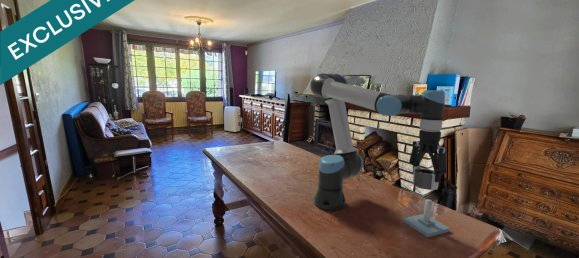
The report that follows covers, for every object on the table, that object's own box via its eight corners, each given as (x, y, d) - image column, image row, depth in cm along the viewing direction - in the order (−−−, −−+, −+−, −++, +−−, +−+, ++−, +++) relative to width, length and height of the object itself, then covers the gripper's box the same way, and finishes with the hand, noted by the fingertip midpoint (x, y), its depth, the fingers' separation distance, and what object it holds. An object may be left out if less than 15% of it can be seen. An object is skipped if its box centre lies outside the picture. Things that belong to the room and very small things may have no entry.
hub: (425, 190, 96) (427, 175, 95) (409, 183, 103) (410, 169, 102) (440, 188, 99) (442, 173, 98) (423, 181, 106) (425, 167, 105)
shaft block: (427, 237, 96) (431, 210, 94) (403, 221, 107) (406, 196, 105) (449, 231, 100) (453, 205, 98) (424, 216, 111) (427, 192, 109)
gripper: (463, 134, 89) (456, 194, 92) (415, 125, 108) (411, 175, 112) (448, 135, 86) (441, 197, 90) (402, 126, 105) (398, 177, 109)
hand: (424, 185), depth 101 cm, fingers closed on hub, 8 cm apart
